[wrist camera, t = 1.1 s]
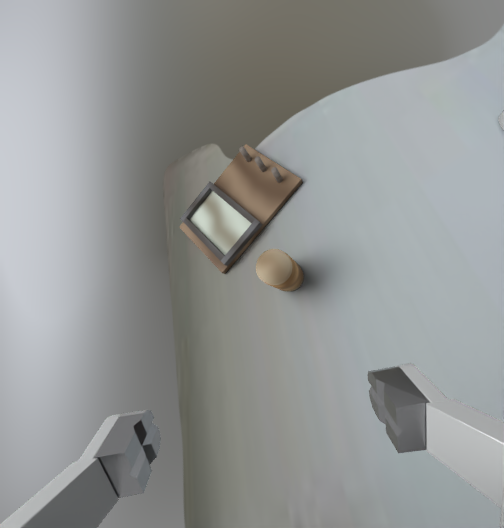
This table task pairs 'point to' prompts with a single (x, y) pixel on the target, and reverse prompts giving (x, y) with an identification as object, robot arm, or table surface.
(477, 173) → the table surface
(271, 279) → the tan domed cylinder
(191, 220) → the wooden key rack
